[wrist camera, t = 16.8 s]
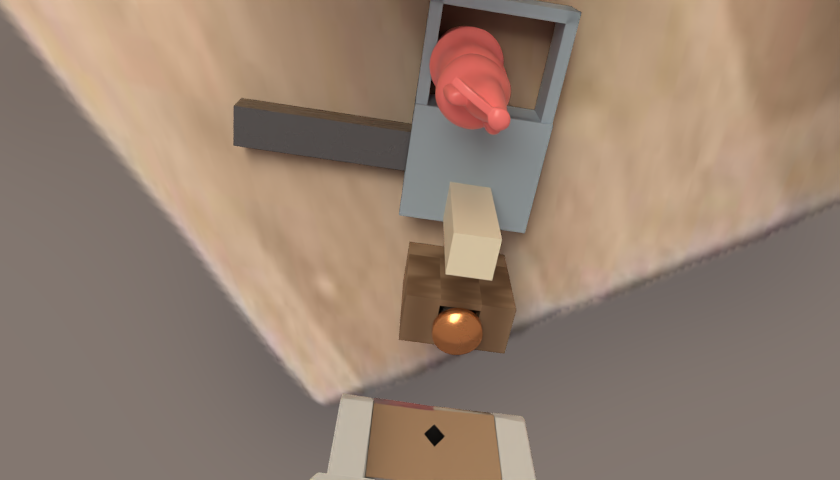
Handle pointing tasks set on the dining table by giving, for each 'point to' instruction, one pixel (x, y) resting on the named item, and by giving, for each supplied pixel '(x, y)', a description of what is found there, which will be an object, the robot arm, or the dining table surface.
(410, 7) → the dining table surface
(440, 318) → the button
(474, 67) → the figurine
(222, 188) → the dining table surface
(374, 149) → the rail
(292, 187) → the dining table surface
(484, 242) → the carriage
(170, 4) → the dining table surface
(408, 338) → the box
